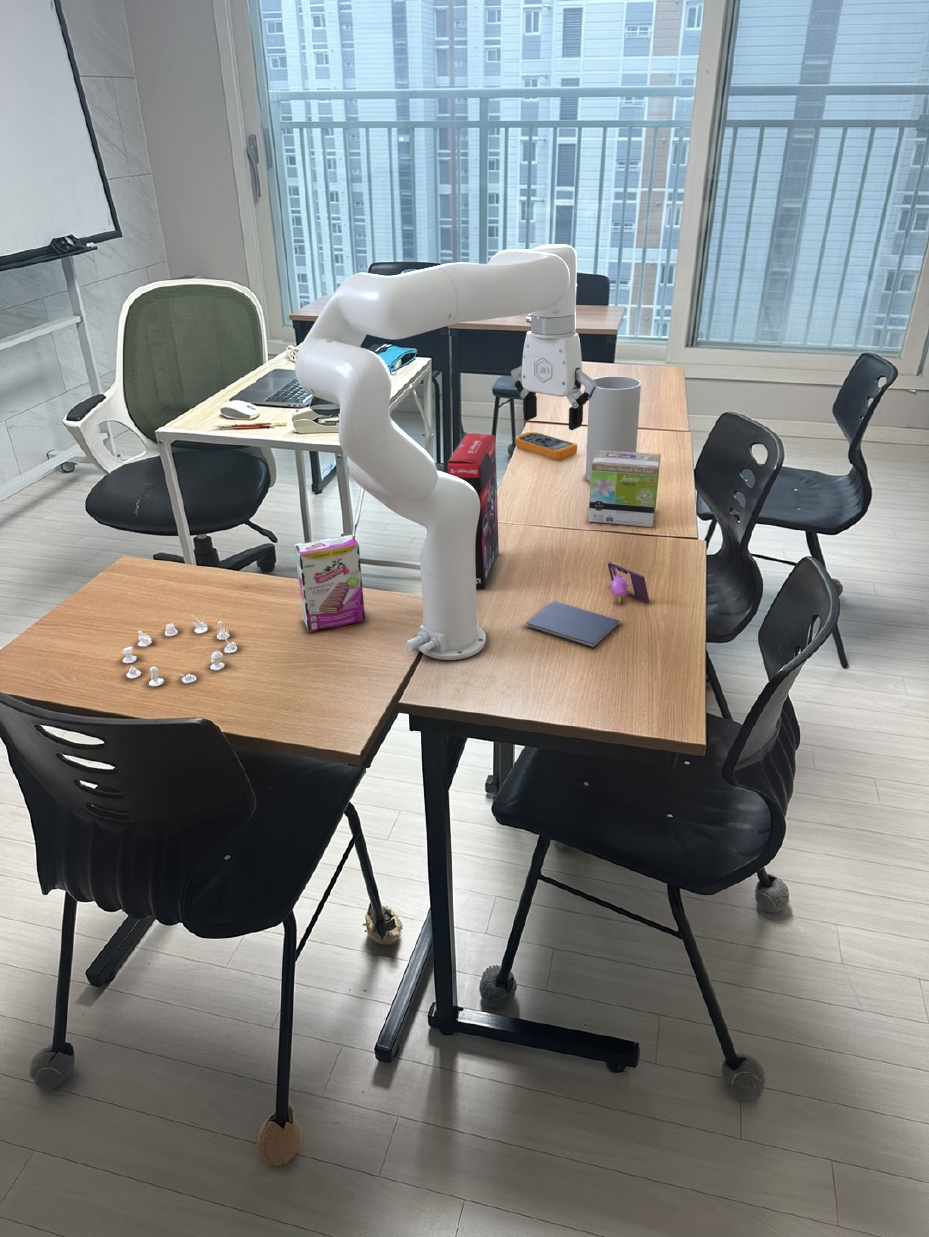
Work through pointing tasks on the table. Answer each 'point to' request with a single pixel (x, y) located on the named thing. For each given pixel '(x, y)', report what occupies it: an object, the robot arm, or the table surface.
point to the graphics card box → (480, 496)
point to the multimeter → (545, 445)
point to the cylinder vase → (612, 417)
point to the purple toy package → (621, 584)
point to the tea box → (624, 487)
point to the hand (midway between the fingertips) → (552, 423)
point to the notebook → (573, 624)
